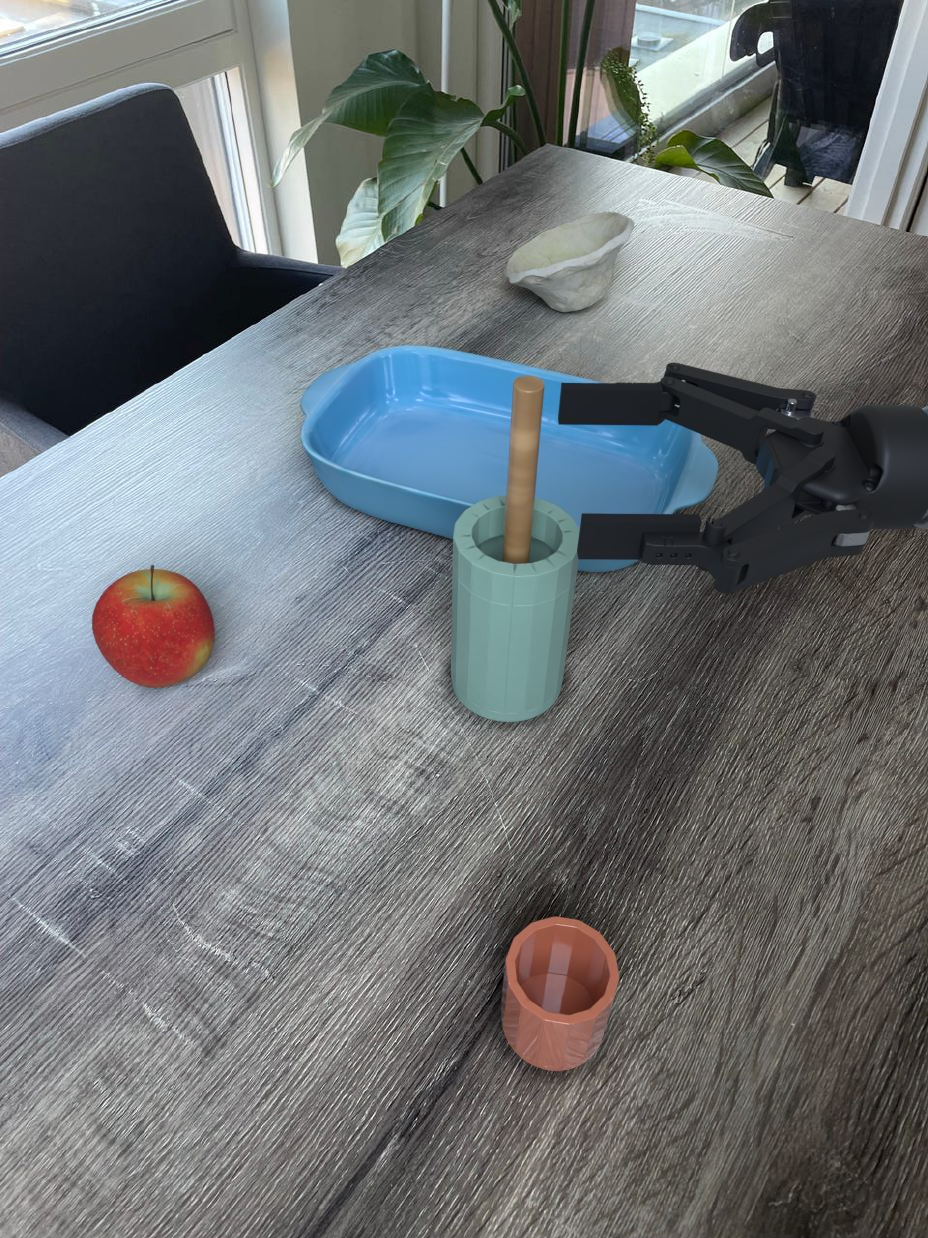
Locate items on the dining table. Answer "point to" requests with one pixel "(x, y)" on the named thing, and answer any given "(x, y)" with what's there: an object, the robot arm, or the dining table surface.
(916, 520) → the robot arm
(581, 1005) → the cup
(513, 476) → the tan long rod
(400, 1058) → the dining table surface
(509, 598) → the green cylindrical holder
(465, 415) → the casserole dish
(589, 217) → the bowl
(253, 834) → the dining table surface
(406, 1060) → the dining table surface
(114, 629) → the apple
